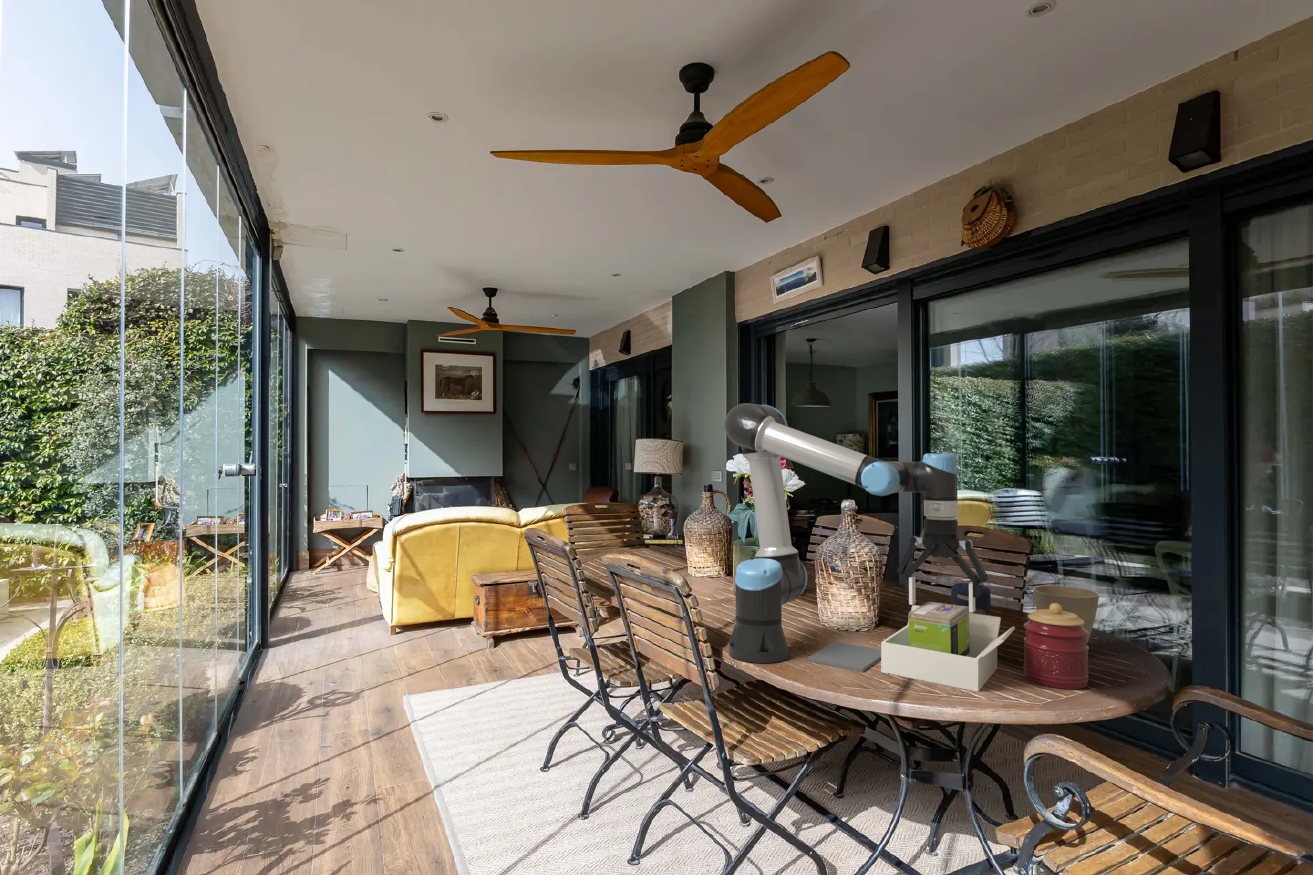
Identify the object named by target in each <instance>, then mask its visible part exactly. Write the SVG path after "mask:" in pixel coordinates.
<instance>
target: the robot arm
mask: <svg viewBox="0 0 1313 875" xmlns="http://www.w3.org/2000/svg"><path fill="white" fill-rule="evenodd" d="M724 420H725V421H724V431H725V434H726V436H727V439H729V440H730V441H731V442H732V443H733V444H734V445H736V446H739V447H741V453H742V457H743V458H744V459H745V460H746V461H748V464H749V472H750V481H751V488H752V496H753V502H754V504H753V506H754V510H755V511H754V513H755V518H756V519H755V520H756V528H757V536H758V543H759V549H758V551H757V552H756V553H755V555H754V557H755V558H753V559H746V560H744V561H742V562H740V563H739V564H737V565H736V566H737V567H736V570H735V576H734V582H735V624H734V626H733V629H732V632H731V636H730V638H729V642H728V646H727V648H728V650H727V652H728V655H729V656H730V658H733V659H735V660H738V661H740V662H741V661H742V662H746V663H753V664H773V663H779V662H784V661H785V660H787V659H788V658H789V645H788V642H787V638H786V635H785V632H784V629H783V626H782V622H783V621H782V620H783V619H782V618H783V616H782V614H783V613H782V612H783V610H782V608H783V607H782V606H783V605H785V604H788V603H790V602H794V601H795V600H796V599H797V598H799V597H800V596H801V595H802V594H803V593H804V592H805V590H806V587H807V585H808V572H807V569H806V567H805V566H804V564H803V563H802V562H801V561H800V557H799V551H798V549H796V548H795V547H794V546H793V545H792V538H791V531H790V524H789V523H790V521H789V517H788V516H789V515H788V508H787V501H786V493H785V486H784V479H783V478H784V477H783V471H782V462H781V458H785V459H787V460H790V461H793V462H795V463H798V464H799V465H803V466H805V467H808V468H811V469H813V470H816V471H819V472H821V473H823V474H827V475H829V476H832V477H834V478H837V479H840V480H843V481H845V482H847V483H850V484H852V485H856V486H858V487H860V488H862V489H865V491H866V492H868V493H869V494H871V495H874V496H879V497H884V496H885V497H886V496H889V495H892V494H896V493H923V516H924V517H926V518H924V520H923V537H918V535H913V536H911V537H910V540H909V546H908V547H907V550H906V552H905V554H904V555H903V557H902V560H901V561H900V563H899V565H898V567H897V569H896V572H897V574H900V575H902V576H903V577H904V588H905V590H906V591H908V605H910V606H911V605H915V604H917V601H916V600H917V599H916V595H917V594H916V591H917V590H916V576H915V575H913V574H914V573H915V572H916V571H917V570H918V569H919V568H920V567H921V565H922V564H923V563H924V562H925V561H927V559H928V558H929V557H930V556H931V557H933V558H942V559H947V558H950V559H951V560H952V561H954V562H955V563H956V565H957V566H958V568H960V570H961V571H962V572H963V573H964V574H965V575H966V577H967V578H968V579H969V580H970V581H971V583H970V582H968V583H969V612H972V613H973V612H974V611H975V598H978V597H979V596H980V585H981V583H985V582H988V580H989V576H988V574H987V571H986V570H985V568H984V567H983V564H982V562H981V560H980V559H979V557H978V555H977V553H976V550H975V548H974V542H973V540H972V539H967V540H960V539H959V521H958V520H957V519H956V518H957V517H958V516H959V512H958V510H959V509H958V475H959V472H958V466H957V465H958V463H957V457H956V456H955V454H953V453H925V454H924V455H923V457H922V460H921V461H899V460H896V461H894V460H893V461H892V460H881V459H879V458H876V457H874V456H870V455H867V454H864V453H862V452H859V451H856V450H853V449H850V448H848V447H845V446H843V445H840V444H837V443H834V442H831V441H828V440H826V439H823V438H820V437H817V436H814V435H811V434H808V433H806V432H803V431H801V430H798V429H795V428H792V427H790V426H789V425H788V421H787V419H786V417H785V415H784V414H783V413H782V411H780V410H779V409H777V408H776V407H774V406H771V405H768V404H757V403H755V404H753V403H750V402H747V403H746V402H745V403H739V404H737V405H735V406H734V407H733V408H731V409H730V410H729V412H728V413H727V415H726V417H725V419H724ZM921 544H922V545H923V546H924V548H925V550H924V551H923V552H922V553H921V554H920V555H919V557H918V558H917V559H916V560H915V561H914V562H913V563H912V564H911V565H910V567H909V568H908V569H907V567H908V565H909V564H910V562H911V559H912V558H913V556H914V553H915V552H916V550H917V548H918V547H919V546H920V545H921ZM959 547H962V549H963V550H965V552H966V554H967V557H968V559H969V561H970V563H971V564H972V566H973V569H974V570H975V571H974V570H973V569H972V568H971V567H970V565H969V564H968V563H967V562H966V561H965V560H964V559H963V557H962V555H961V554H960V553H959V551H958V549H959Z"/></svg>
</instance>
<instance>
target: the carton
mask: <svg viewBox="0 0 1313 875" xmlns="http://www.w3.org/2000/svg"><path fill="white" fill-rule="evenodd" d="M920 606H921V605H915V604H913V605H912V606H911V610H910V612H911V611H913V610H914V609H916V608H918V607H920ZM1001 621H1002V618H1001V616H994V615H991V616H987V615H980V614H973V613H969V634H970V657H966V656H960V655H955V654H949V653H943V652H938V651H932V650H926V649H921V648H915V647H909V625H908V624H907V625H905V626H903V627H902V628H901V629H899V630H898V631H896V632H895V633H893V634H892V635H890V636H888V637H887V638H885V639H884V640H882V641H881V642H880V644H881V646H880V647H881V648H880V650H881V661H880V665H881V666H880V673H884V674H888V673H890V674H889V675H893V674H894V675H893V676H898V675H899V677H903V678H908V679H913V680H919V681H923V682H928V683H933V684H939V685H943V686H948V687H954V688H958V689H963V690H967V691H972V692H973V691H974V692H979V691H980V690H981V689H982V688H983V686H984V685H985V684H986V683H987V681H988V680H989V679H990V678H991V677H992V675H993V674H994V673H995V672H996V670H997V669H998V646H1000V645H1001V644H1003V643H1004V641H1005V640H1007V638H1008V637H1009V636H1010V635H1011V634H1012V633H1013V632H1014V630H1016V627H1015V626H1014V625H1012V626H1011V627H1010V628H1009V629H1008V630H1006V631H1005V632H1003V633H1002V634H1001V635H1000V636H999V633H1000V628H1001Z"/></svg>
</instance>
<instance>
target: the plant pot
mask: <svg viewBox="0 0 1313 875" xmlns="http://www.w3.org/2000/svg"><path fill="white" fill-rule="evenodd" d="M1033 596H1034V603H1035V607H1036V610H1039V609H1049V606H1050V605H1051V604H1052V603H1058V604H1060V605H1061V607H1062V611H1066V612H1070V613H1074V614H1076V615H1077V616H1078V617H1079V618H1081V619H1082V620H1084V622H1085V623H1084V624H1083V625H1082V626H1083V628H1084V629H1086V630H1087V631H1088V632H1089V635H1088V636H1087V637H1086V644H1087V645H1088V641H1089V640H1090V636H1091V634H1092V631H1093V627H1094V624H1095V620H1096V615H1097V611H1098V604H1099V600H1100V593H1099V592H1097V591H1095V590H1091V589H1087V588H1082V587H1077V586H1076V587H1075V586H1068V585H1057V584H1056V585H1053V584H1052V585H1051V584H1050V585H1048V584H1047V585H1046V584H1045V585H1036V586H1034V587H1033Z"/></svg>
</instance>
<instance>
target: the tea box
mask: <svg viewBox="0 0 1313 875" xmlns="http://www.w3.org/2000/svg"><path fill="white" fill-rule="evenodd" d="M919 606H920V607H918V608H916V609H914V610H913V611H911V610H910V611H909V612H908V618H907V619H908V621H907V625H909V647H915V648H921V649H926V650H932V651H938V652H943V653H949V654H955V655H960V656H966V657H970V634H969V607H967V606H959V605H951V603H950V604H949V603H944V602H943V603H941V602H934V601H927V602H926V603H923V604H922V605H919Z"/></svg>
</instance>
